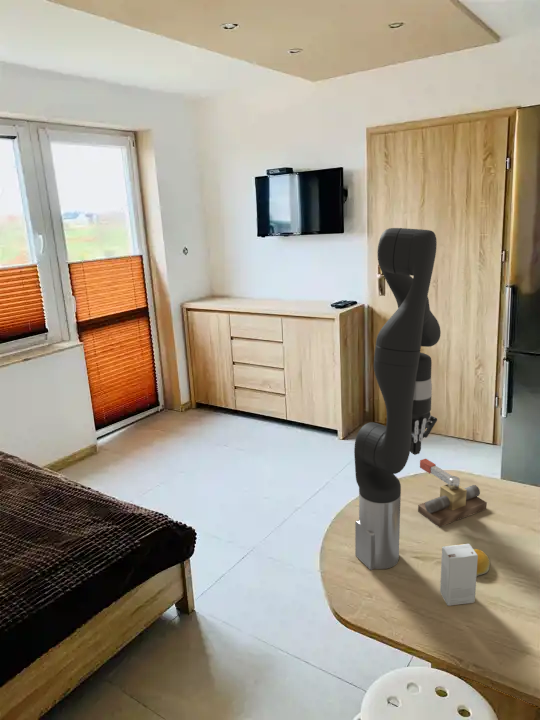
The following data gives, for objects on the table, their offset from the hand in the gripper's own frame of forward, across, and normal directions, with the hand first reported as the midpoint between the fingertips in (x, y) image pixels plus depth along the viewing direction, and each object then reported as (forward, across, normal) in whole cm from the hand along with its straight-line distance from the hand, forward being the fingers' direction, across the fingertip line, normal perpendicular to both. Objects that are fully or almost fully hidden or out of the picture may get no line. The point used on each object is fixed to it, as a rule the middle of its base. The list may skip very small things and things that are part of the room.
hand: (415, 453), depth 151 cm
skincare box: (+14, -17, -35) cm, 41 cm away
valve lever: (+7, +5, -5) cm, 9 cm away
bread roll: (+14, -7, -28) cm, 32 cm away
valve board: (+14, +5, -10) cm, 18 cm away
